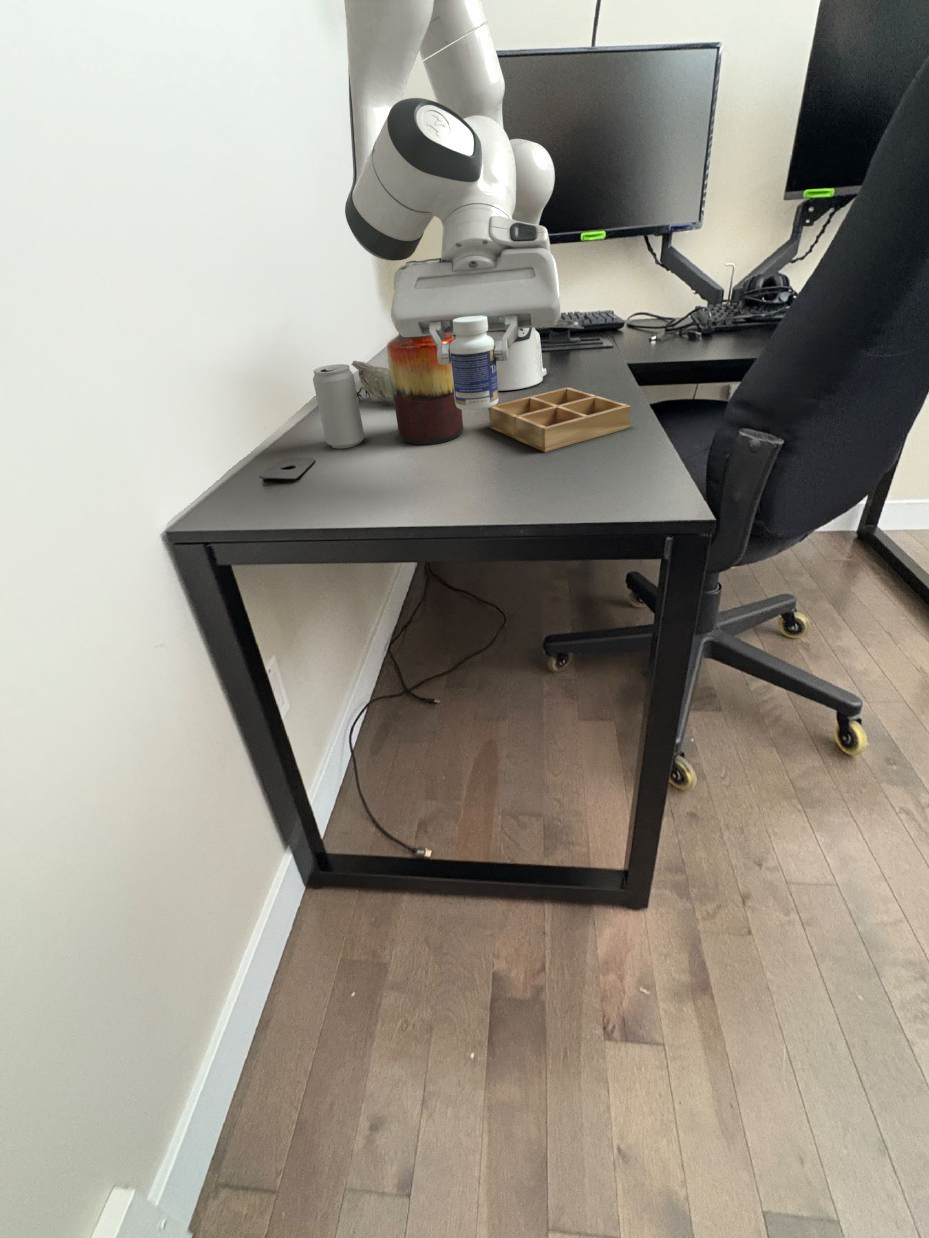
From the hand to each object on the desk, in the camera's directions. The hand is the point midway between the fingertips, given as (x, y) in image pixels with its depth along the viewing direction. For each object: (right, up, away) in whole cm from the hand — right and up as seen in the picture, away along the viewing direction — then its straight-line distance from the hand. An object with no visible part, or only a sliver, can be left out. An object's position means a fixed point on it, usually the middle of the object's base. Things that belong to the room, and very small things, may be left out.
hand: (472, 360), depth 70 cm
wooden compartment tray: (+14, +1, +27) cm, 30 cm away
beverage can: (-21, -1, +30) cm, 36 cm away
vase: (-6, 0, +30) cm, 31 cm away
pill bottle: (+1, -4, +4) cm, 6 cm away
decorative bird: (-16, +12, +49) cm, 53 cm away
